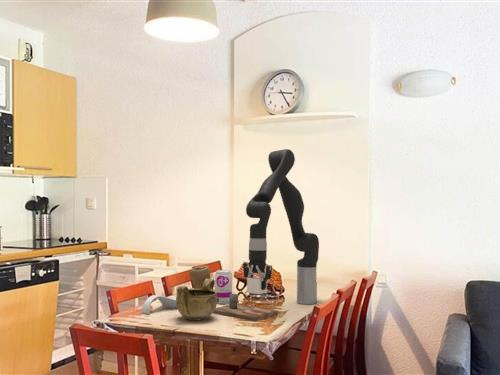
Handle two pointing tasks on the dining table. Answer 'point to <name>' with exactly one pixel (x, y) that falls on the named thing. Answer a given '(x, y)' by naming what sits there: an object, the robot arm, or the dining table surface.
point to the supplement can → (223, 286)
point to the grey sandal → (166, 302)
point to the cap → (255, 285)
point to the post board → (244, 311)
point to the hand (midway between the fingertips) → (256, 288)
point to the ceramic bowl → (197, 301)
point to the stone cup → (199, 276)
